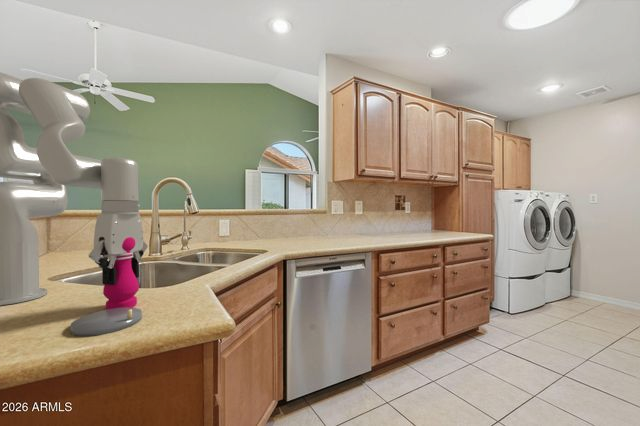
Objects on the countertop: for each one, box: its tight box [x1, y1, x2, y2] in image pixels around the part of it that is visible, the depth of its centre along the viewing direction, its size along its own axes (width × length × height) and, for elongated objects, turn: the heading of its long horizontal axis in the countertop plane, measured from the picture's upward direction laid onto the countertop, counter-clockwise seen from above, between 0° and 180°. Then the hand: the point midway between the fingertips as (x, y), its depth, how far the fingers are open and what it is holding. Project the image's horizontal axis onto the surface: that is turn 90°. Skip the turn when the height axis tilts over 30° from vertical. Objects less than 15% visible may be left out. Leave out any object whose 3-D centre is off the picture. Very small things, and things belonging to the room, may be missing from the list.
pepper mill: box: [102, 237, 140, 310], centre depth 68 cm, size 7×7×20 cm
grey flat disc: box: [70, 307, 143, 337], centre depth 59 cm, size 12×12×3 cm
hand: (121, 280), depth 69 cm, fingers closed on pepper mill, 5 cm apart
